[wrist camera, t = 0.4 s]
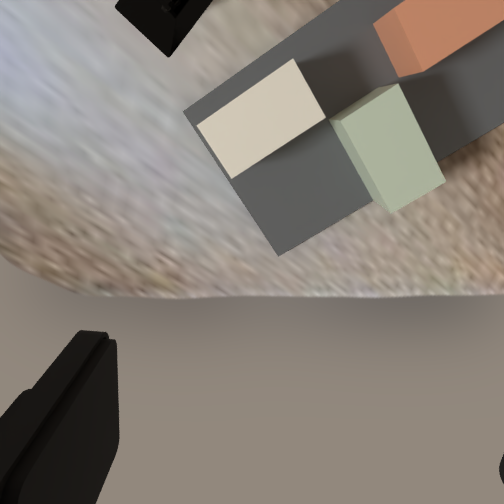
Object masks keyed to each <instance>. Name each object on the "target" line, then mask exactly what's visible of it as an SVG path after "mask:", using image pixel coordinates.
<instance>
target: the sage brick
mask: <svg viewBox="0 0 504 504" xmlns="http://www.w3.org/2000/svg"><path fill="white" fill-rule="evenodd" d="M329 121H330V123H331V125H332V127H333V128H334V130H335V132H336V134H337V136H338V138H339V139H340V141H341V143H342V145H343V147H344V148H345V150H346V152H347V154H348V156H349V157H350V159H351V161H352V163H353V165H354V166H355V168H356V170H357V172H358V174H359V175H360V177H361V179H362V181H363V183H364V184H365V186H366V188H367V190H368V192H369V193H370V195H371V197H372V199H373V200H374V201H375V202H376V203H378V204H379V205H380V206H382V207H383V208H384V209H385V210H387V211H388V212H389V213H391V214H392V213H393V212H395V211H397V210H399V209H400V208H402V207H404V206H405V205H407V204H409V203H411V202H412V201H414V200H416V199H417V198H419V197H421V196H423V195H424V194H426V193H428V192H430V191H431V190H433V189H435V188H436V187H438V186H440V185H442V184H443V183H445V182H446V180H445V178H444V176H443V174H442V172H441V170H440V168H439V166H438V164H437V162H436V160H435V158H434V156H433V154H432V152H431V150H430V147H429V145H428V143H427V141H426V139H425V137H424V135H423V133H422V131H421V129H420V127H419V125H418V123H417V121H416V119H415V117H414V115H413V113H412V111H411V109H410V106H409V104H408V102H407V100H406V98H405V96H404V94H403V92H402V90H401V88H400V86H399V84H393V85H388V86H383V87H378V88H376V89H375V90H373V91H372V92H370V93H368V94H367V95H365V96H364V97H362V98H361V99H359V100H358V101H356V102H355V103H353V104H352V105H350V106H348V107H347V108H345V109H344V110H342V111H341V112H339V113H338V114H336V115H335V116H333V117H332V118H330V119H329Z"/></svg>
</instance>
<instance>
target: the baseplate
mask: <svg viewBox="0 0 504 504" xmlns="http://www.w3.org/2000/svg"><path fill="white" fill-rule="evenodd" d="M403 1H405V0H340V1H338V2H337V3H335V4H334V5H333V6H331V7H330V8H328V9H327V10H326V11H324V12H323V13H321V14H320V15H318V16H317V17H316V18H314V19H313V20H311V21H310V22H309V23H307V24H306V25H304V26H303V27H302V28H300V29H299V30H297V31H296V32H294V33H293V34H292V35H290V36H289V37H287V38H286V39H285V40H283V41H282V42H280V43H279V44H278V45H276V46H275V47H273V48H272V49H270V50H269V51H268V52H266V53H265V54H263V55H262V56H261V57H259V58H258V59H256V60H255V61H254V62H252V63H251V64H249V65H248V66H246V67H245V68H244V69H242V70H241V71H239V72H238V73H237V74H235V75H234V76H232V77H231V78H230V79H228V80H227V81H225V82H224V83H222V84H221V85H220V86H218V87H217V88H215V89H214V90H213V91H211V92H210V93H208V94H207V95H206V96H204V97H203V98H201V99H200V100H198V101H197V102H196V103H194V104H193V105H191V106H190V107H189V108H187V109H186V110H184V111H183V113H184V114H185V116H186V117H187V119H188V120H189V122H190V123H191V125H192V126H193V128H194V129H195V131H196V132H197V134H198V135H199V137H200V139H201V140H202V142H203V143H204V145H205V146H206V148H207V149H208V151H209V152H210V154H211V155H212V157H213V158H214V160H215V161H216V163H217V164H218V166H219V167H220V169H221V170H222V172H223V173H224V175H225V176H226V178H227V179H228V181H229V182H230V184H231V185H232V187H233V189H234V190H235V192H236V193H237V195H238V196H239V198H240V199H241V201H242V202H243V204H244V205H245V207H246V208H247V210H248V211H249V213H250V214H251V216H252V217H253V219H254V220H255V222H256V223H257V225H258V226H259V228H260V229H261V231H262V232H263V234H264V235H265V237H266V238H267V240H268V242H269V243H270V245H271V246H272V248H273V249H274V251H275V252H276V254H277V255H278V256H280V255H282V254H283V253H285V252H287V251H288V250H290V249H292V248H293V247H295V246H297V245H299V244H300V243H302V242H304V241H305V240H307V239H309V238H310V237H312V236H314V235H315V234H317V233H319V232H320V231H322V230H324V229H326V228H327V227H329V226H331V225H332V224H334V223H336V222H337V221H339V220H341V219H342V218H344V217H346V216H347V215H349V214H351V213H352V212H354V211H356V210H358V209H359V208H361V207H363V206H364V205H366V204H368V203H369V202H371V201H373V199H372V197H371V195H370V193H369V192H368V190H367V188H366V186H365V184H364V183H363V181H362V179H361V177H360V175H359V174H358V172H357V170H356V168H355V166H354V165H353V163H352V161H351V159H350V157H349V156H348V154H347V152H346V150H345V148H344V147H343V145H342V143H341V141H340V139H339V138H338V136H337V134H336V132H335V130H334V128H333V127H332V125H331V123H330V121H329V119H330V118H332V117H333V116H335V115H336V114H338V113H339V112H341V111H342V110H344V109H345V108H347V107H348V106H350V105H352V104H353V103H355V102H356V101H358V100H359V99H361V98H362V97H364V96H365V95H367V94H368V93H370V92H372V91H373V90H375V89H376V88H378V87H383V86H388V85H393V84H399V86H400V88H401V90H402V92H403V94H404V96H405V98H406V100H407V102H408V104H409V106H410V109H411V111H412V113H413V115H414V117H415V119H416V121H417V123H418V125H419V127H420V129H421V131H422V133H423V135H424V137H425V139H426V141H427V143H428V145H429V147H430V150H431V152H432V154H433V156H434V158H435V160H436V162H438V161H440V160H442V159H443V158H445V157H447V156H448V155H450V154H452V153H454V152H455V151H457V150H459V149H460V148H462V147H464V146H465V145H467V144H469V143H470V142H472V141H474V140H475V139H477V138H479V137H480V136H482V135H484V134H486V133H487V132H489V131H491V130H492V129H494V128H496V127H497V126H499V125H501V124H502V123H504V20H503V21H501V22H500V23H498V24H497V25H495V26H493V27H492V28H490V29H489V30H487V31H486V32H484V33H483V34H481V35H479V36H478V37H476V38H475V39H473V40H472V41H470V42H469V43H467V44H465V45H464V46H462V47H461V48H459V49H458V50H456V51H455V52H453V53H452V54H450V55H448V56H447V57H445V58H444V59H442V60H441V61H439V62H438V63H436V64H434V65H433V66H431V67H430V68H428V69H427V70H425V71H424V72H420V73H416V74H411V75H407V76H403V77H398V75H397V73H396V71H395V69H394V67H393V65H392V62H391V60H390V58H389V56H388V54H387V52H386V50H385V48H384V46H383V44H382V42H381V40H380V38H379V36H378V34H377V32H376V30H375V27H374V25H373V23H375V22H376V21H377V20H379V19H380V18H381V17H383V16H384V15H385V14H387V13H388V12H389V11H391V10H392V9H393V8H395V7H396V6H397V5H399V4H400V3H402V2H403ZM291 59H294V61H295V63H296V64H297V66H298V68H299V70H300V72H301V73H302V75H303V77H304V79H305V81H306V82H307V84H308V86H309V88H310V90H311V91H312V93H313V95H314V97H315V99H316V100H317V102H318V104H319V106H320V108H321V109H322V111H323V113H324V115H325V117H326V118H324V119H323V120H321V121H320V122H318V123H317V124H315V125H313V126H312V127H310V128H309V129H307V130H306V131H304V132H303V133H301V134H300V135H298V136H297V137H295V138H294V139H292V140H290V141H289V142H287V143H286V144H284V145H283V146H281V147H280V148H278V149H277V150H275V151H274V152H272V153H271V154H269V155H267V156H266V157H264V158H263V159H261V160H260V161H258V162H257V163H255V164H254V165H252V166H251V167H249V168H248V169H246V170H244V171H243V172H241V173H240V174H238V175H237V176H235V177H234V178H232V179H231V177H230V176H229V174H228V173H227V171H226V170H225V168H224V167H223V165H222V164H221V162H220V161H219V159H218V158H217V156H216V155H215V153H214V151H213V150H212V148H211V147H210V145H209V144H208V142H207V141H206V139H205V138H204V136H203V135H202V133H201V132H200V130H199V129H198V127H197V126H196V125H198V124H199V123H201V122H202V121H204V120H205V119H206V118H208V117H209V116H211V115H212V114H214V113H215V112H217V111H218V110H219V109H221V108H222V107H224V106H225V105H227V104H228V103H229V102H231V101H232V100H234V99H235V98H237V97H238V96H240V95H241V94H242V93H244V92H245V91H247V90H248V89H250V88H251V87H253V86H254V85H255V84H257V83H258V82H260V81H261V80H263V79H264V78H265V77H267V76H268V75H270V74H271V73H273V72H274V71H276V70H277V69H278V68H280V67H281V66H283V65H284V64H286V63H287V62H288V61H290V60H291Z"/></svg>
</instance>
